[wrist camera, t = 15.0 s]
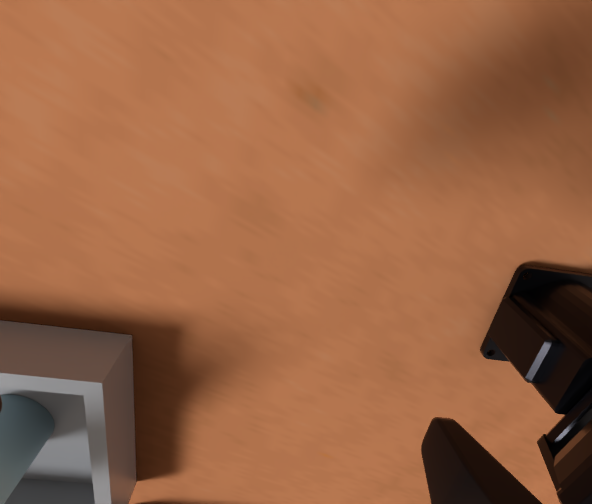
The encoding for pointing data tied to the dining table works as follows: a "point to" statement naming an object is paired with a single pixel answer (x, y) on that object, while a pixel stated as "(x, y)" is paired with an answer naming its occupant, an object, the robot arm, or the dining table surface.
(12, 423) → the pale blue tapered cylinder
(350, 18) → the dining table surface
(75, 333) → the bin
